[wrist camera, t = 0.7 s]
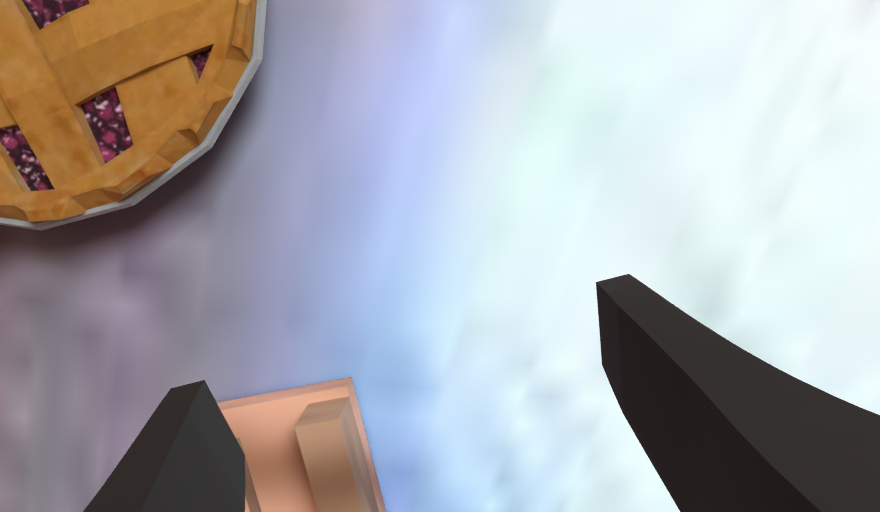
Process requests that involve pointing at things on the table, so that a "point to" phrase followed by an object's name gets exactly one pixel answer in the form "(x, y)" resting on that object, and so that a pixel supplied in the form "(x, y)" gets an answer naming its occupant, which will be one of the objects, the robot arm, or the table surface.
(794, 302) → the table surface
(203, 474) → the robot arm
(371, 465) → the stub
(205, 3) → the pie
